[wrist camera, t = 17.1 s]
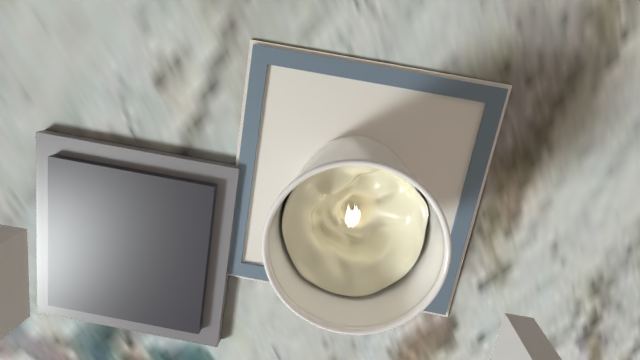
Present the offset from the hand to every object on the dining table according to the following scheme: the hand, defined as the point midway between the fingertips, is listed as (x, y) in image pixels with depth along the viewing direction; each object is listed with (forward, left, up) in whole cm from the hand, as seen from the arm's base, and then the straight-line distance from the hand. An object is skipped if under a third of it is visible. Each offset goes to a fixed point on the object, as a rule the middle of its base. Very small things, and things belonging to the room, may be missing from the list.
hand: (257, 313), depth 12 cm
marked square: (+2, +3, -23) cm, 23 cm away
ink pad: (+10, -14, -23) cm, 29 cm away
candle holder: (+2, +3, -23) cm, 23 cm away
